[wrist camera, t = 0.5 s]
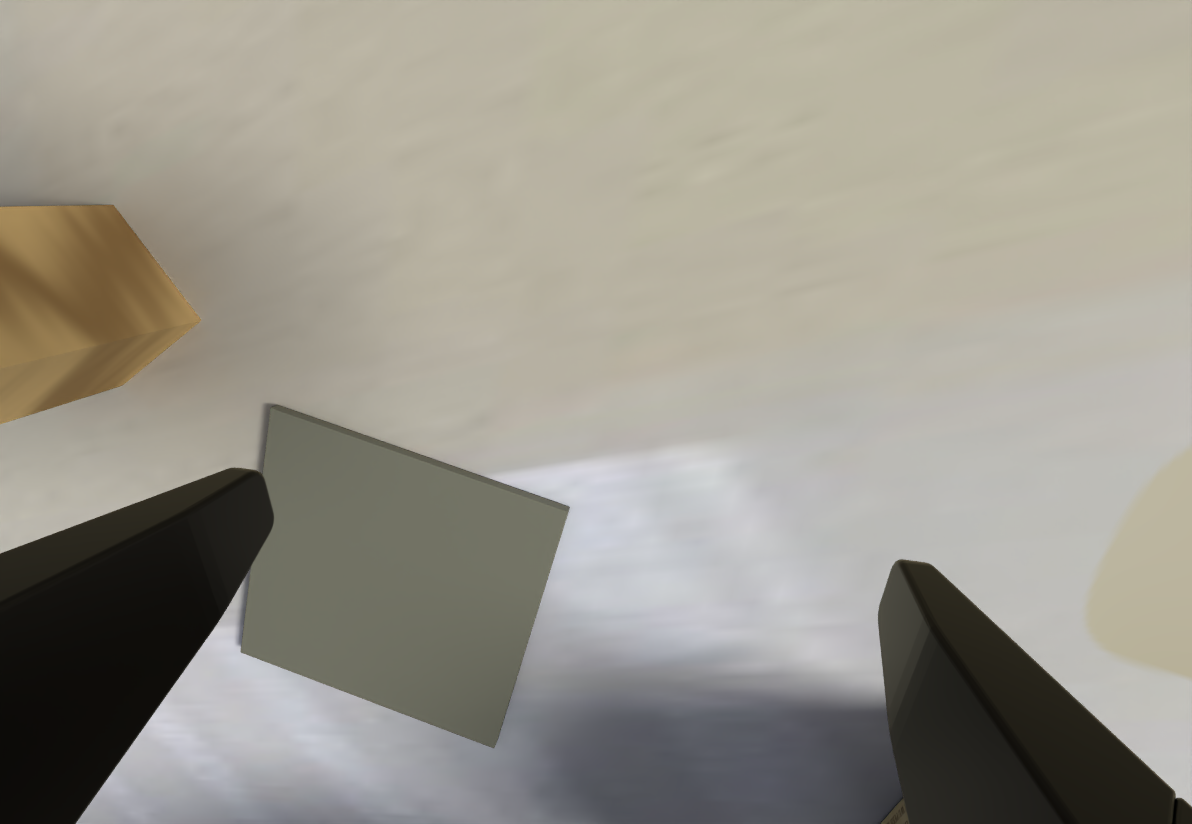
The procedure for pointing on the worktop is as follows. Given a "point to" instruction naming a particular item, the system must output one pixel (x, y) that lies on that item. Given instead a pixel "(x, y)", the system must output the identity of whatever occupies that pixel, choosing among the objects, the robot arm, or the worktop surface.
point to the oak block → (78, 306)
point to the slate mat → (397, 575)
